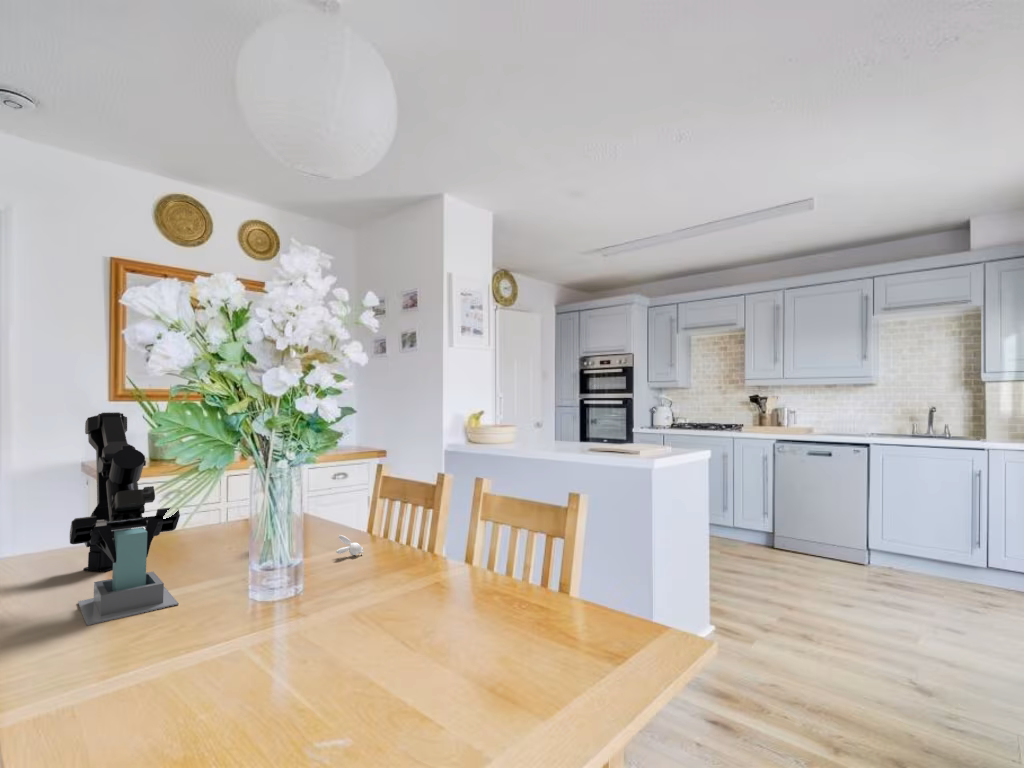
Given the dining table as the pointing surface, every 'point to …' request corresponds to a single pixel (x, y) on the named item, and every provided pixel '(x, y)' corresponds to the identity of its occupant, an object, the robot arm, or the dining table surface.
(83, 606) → the well
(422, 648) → the dining table surface
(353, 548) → the rabbit figurine
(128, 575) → the teal block
